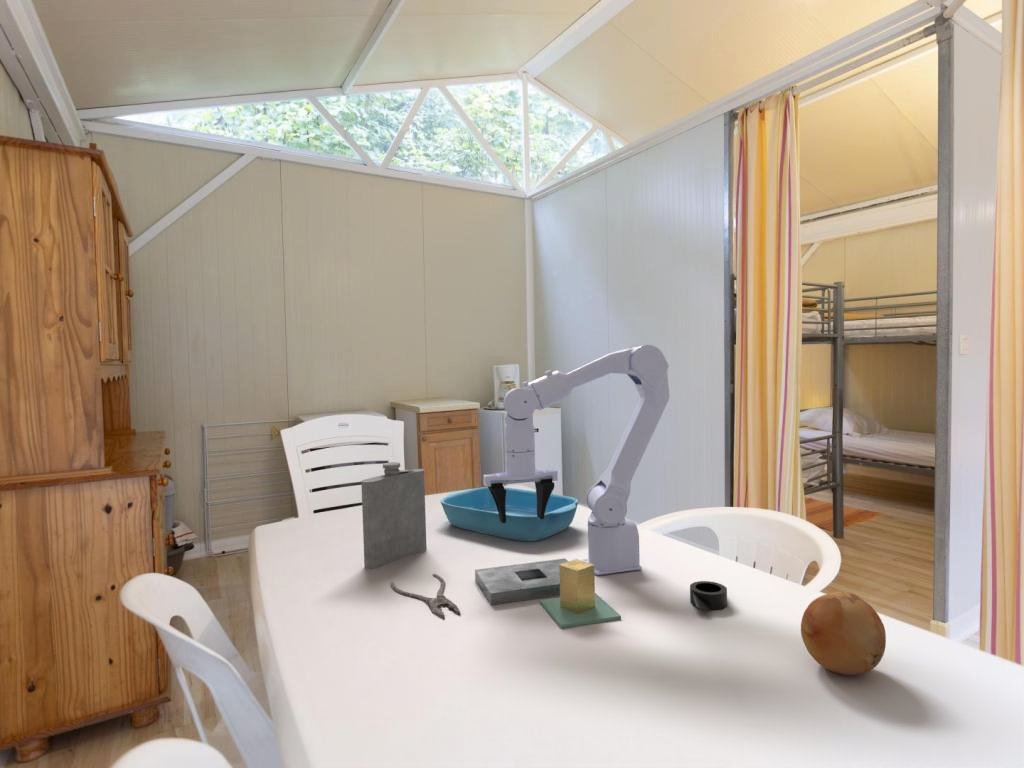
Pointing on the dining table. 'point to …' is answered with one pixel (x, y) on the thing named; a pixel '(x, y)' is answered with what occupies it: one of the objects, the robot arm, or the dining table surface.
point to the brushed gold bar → (577, 586)
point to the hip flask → (393, 515)
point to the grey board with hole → (520, 581)
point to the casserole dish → (509, 513)
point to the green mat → (571, 619)
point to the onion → (843, 633)
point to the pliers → (433, 599)
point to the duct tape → (708, 595)
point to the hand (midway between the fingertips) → (521, 519)
